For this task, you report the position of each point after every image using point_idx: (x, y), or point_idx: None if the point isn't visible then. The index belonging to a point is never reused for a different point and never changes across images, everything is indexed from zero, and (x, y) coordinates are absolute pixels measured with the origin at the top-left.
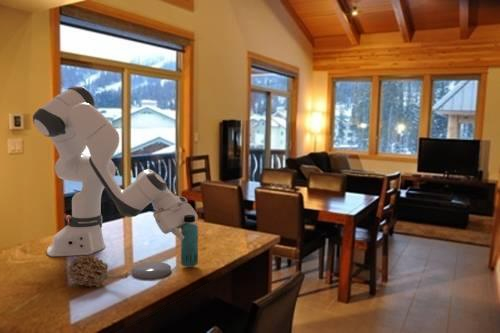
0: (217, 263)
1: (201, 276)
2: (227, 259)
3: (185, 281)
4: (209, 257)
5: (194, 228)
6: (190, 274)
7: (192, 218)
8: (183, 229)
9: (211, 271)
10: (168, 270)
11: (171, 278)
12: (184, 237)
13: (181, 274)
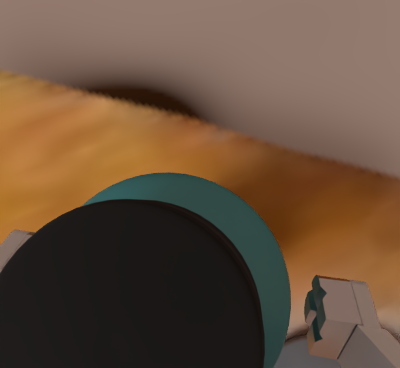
0: (86, 138)
1: (291, 150)
2: (10, 108)
3: (382, 201)
4: (3, 215)
5: (220, 190)
6: (286, 215)
7: (200, 221)
8: (281, 344)
9: (208, 127)
10: None
11: (375, 290)
12: (335, 278)
13: (303, 262)
